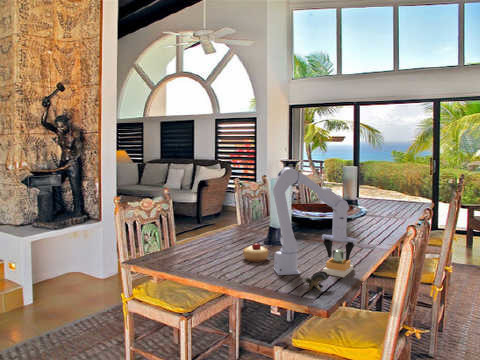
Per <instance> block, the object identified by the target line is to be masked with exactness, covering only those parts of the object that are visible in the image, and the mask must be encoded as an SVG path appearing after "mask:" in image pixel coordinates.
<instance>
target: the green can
mask: <svg viewBox="0 0 480 360" xmlns="http://www.w3.org/2000/svg"><path fill="white" fill-rule="evenodd" d="M332 258H333V263H338V264H344V259H345V250H344V249H339V248H337V249H332Z"/></svg>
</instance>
